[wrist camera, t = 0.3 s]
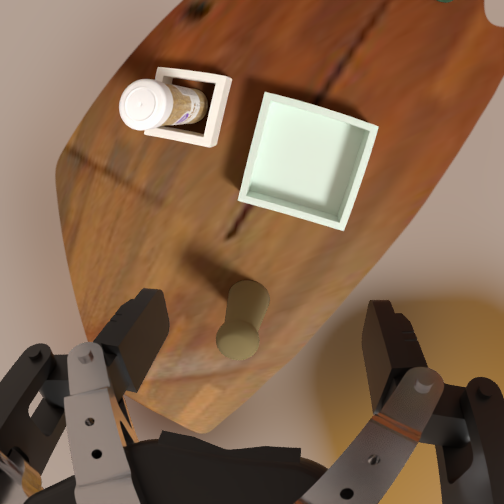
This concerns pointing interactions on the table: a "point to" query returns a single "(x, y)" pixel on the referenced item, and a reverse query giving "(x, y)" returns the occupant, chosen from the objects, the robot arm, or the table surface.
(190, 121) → the sprinkles bottle
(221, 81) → the collar
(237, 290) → the pepper mill
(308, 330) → the table surface
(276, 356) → the table surface
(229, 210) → the table surface
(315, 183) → the tray
